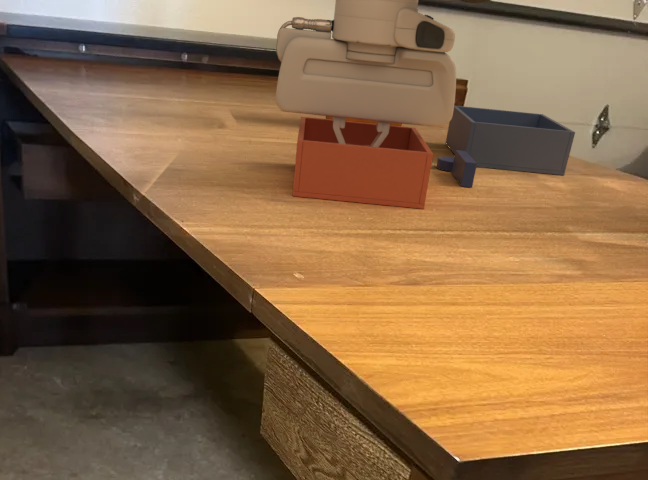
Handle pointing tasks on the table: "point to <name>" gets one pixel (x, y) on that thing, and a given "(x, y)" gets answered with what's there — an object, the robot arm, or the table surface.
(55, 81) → the table surface
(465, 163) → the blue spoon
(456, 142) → the blue bin
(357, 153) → the terracotta bin
